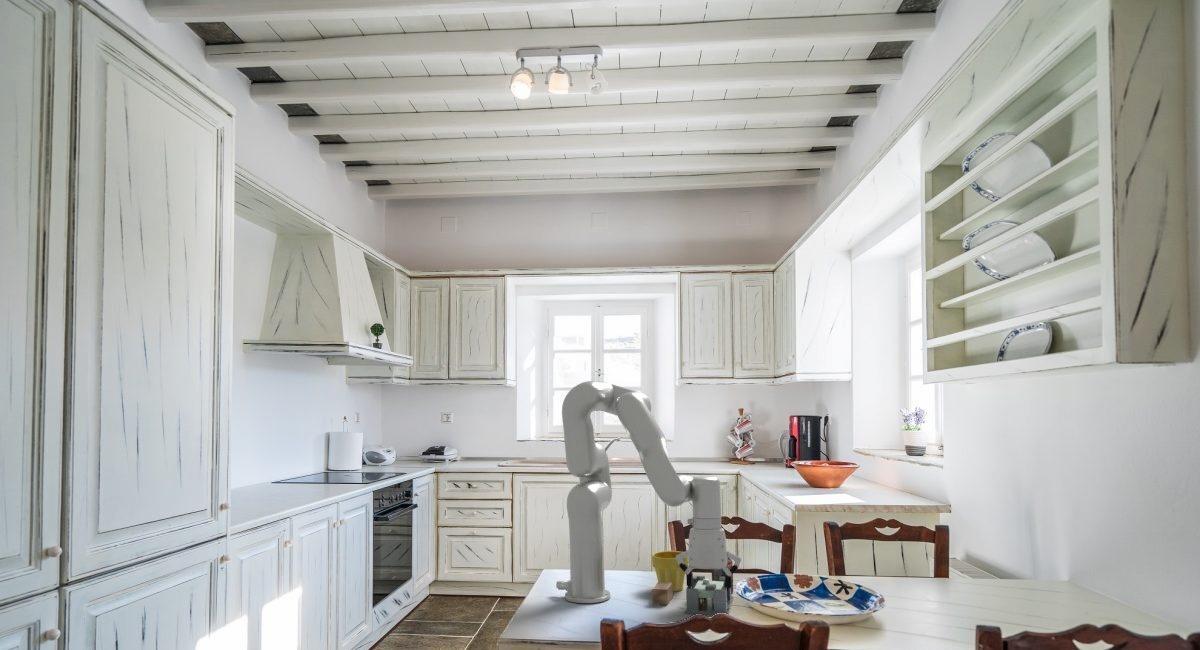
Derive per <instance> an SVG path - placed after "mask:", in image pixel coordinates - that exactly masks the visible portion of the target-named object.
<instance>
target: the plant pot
mask: <svg viewBox="0 0 1200 650" xmlns="http://www.w3.org/2000/svg"><path fill="white" fill-rule="evenodd" d="M683 552H684V551H677V550H665V551H663V550H662V551H658V552H654V553H652V555H651V559H652V567H653V569H654V570H655V575H656V578H657V583H658V582H672V588H673V592H679V591H682V590H683V589H684V581H685V578H686V574H685V572H684V571H683V570H682V569H681V568H680V566H679V564H678V562H677V560H676V556H677V555H679V554H681V553H683ZM682 560H683V562H684V563H685V564H686V565H687V567H688V566H689V563H688V556H687V557H685V558H683V559H682Z"/></svg>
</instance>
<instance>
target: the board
mask: <svg viewBox="0 0 1200 650" xmlns="http://www.w3.org/2000/svg"><path fill="white" fill-rule="evenodd" d="M723 587H724V581H712V580H710V579H709V578H705V579H703V580H698V582H697V584H696V586H695V588H697V589H698V593H699V598H714V589H719V590H722V588H723Z"/></svg>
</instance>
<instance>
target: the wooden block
mask: <svg viewBox="0 0 1200 650" xmlns="http://www.w3.org/2000/svg"><path fill="white" fill-rule="evenodd" d="M673 592H674V591H673V588H672V582H658V581H657V583H656V584H655V585H654V586H653V588H652V605H660V606H661V605H662V606H668V605H669V604H670V603H671V601H672V599H673V598H674V595H673V594H674V593H673Z"/></svg>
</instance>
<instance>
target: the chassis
mask: <svg viewBox="0 0 1200 650" xmlns="http://www.w3.org/2000/svg"><path fill="white" fill-rule="evenodd" d="M703 579H706V576H705V575H693V588H692V586H686V588H685V593H686V597H685V598H686V607H685V609H684V615H685V614H687V615H703V614H704V616H705V615H706V616H707V615H708V616H715V615H714V614H717V613H726V614H728V615H729V614H730V611H731V608H732V606H733V601H734V596H733V595H732V593H731V588H729V592H727V587H725V577H719V581H724V587H723V588H722V590H719V589H714V598H699V593H698V589H697V588H695V586H696V584H697V582H698V580H703ZM691 613H693V614H691Z"/></svg>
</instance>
